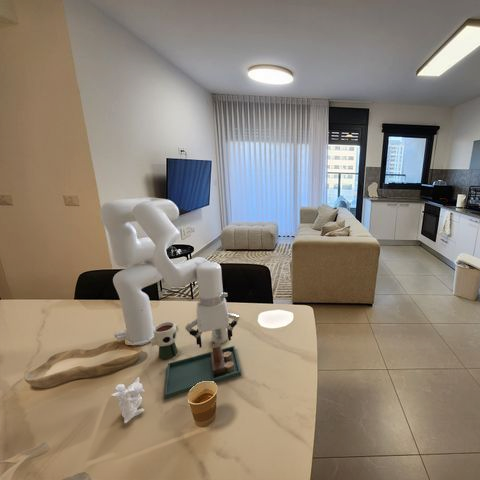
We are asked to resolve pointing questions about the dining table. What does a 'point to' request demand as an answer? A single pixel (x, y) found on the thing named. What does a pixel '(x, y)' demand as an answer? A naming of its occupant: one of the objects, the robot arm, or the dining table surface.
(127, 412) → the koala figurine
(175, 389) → the tray
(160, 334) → the character mug
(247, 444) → the dining table surface
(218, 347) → the brush
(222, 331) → the plastic bottle
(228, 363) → the crumb
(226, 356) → the crumb
